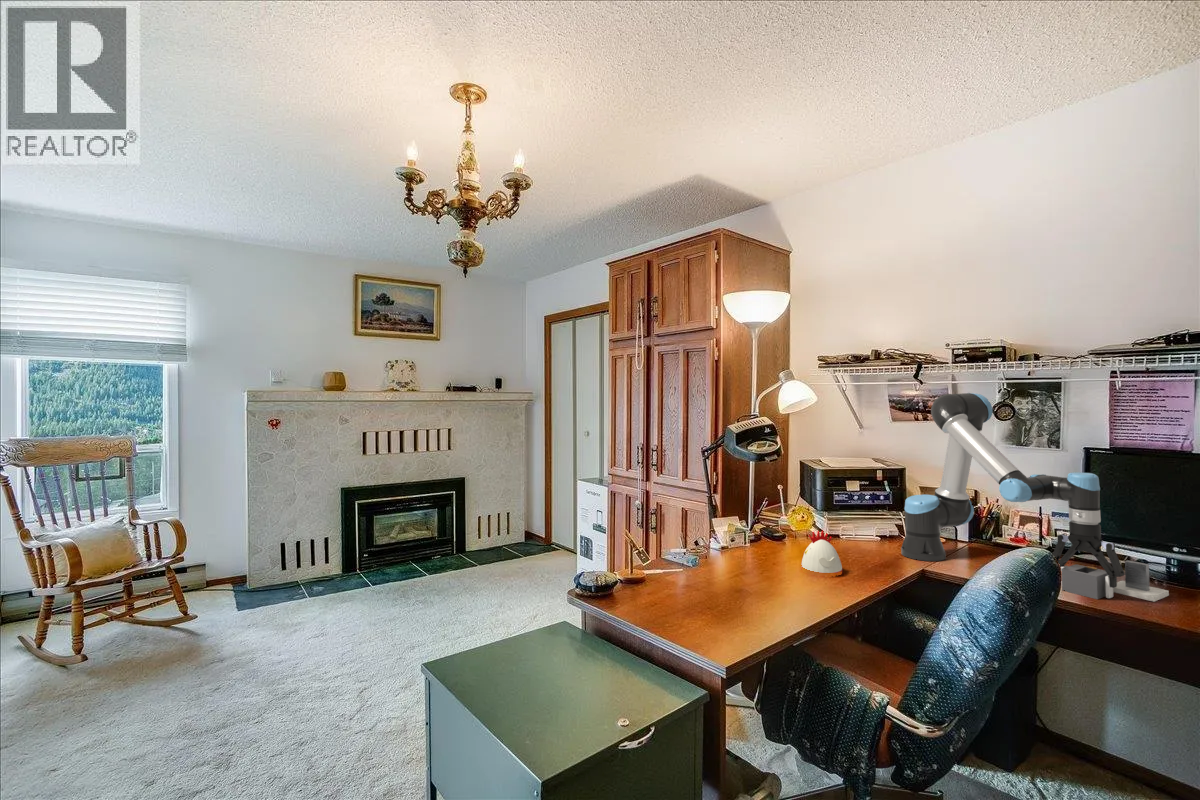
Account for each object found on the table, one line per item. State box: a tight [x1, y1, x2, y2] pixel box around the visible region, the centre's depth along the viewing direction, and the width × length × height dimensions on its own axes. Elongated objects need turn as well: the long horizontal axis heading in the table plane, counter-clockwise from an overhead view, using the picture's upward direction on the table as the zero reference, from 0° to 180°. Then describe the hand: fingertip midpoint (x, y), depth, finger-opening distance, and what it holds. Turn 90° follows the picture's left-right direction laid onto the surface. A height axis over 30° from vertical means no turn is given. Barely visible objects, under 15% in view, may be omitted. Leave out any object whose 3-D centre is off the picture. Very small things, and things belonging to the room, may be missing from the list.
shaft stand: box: [1113, 560, 1170, 603], centre depth 171 cm, size 11×10×10 cm
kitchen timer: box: [801, 530, 843, 573], centre depth 200 cm, size 14×14×15 cm
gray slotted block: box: [1061, 563, 1108, 600], centre depth 173 cm, size 9×9×7 cm
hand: (1086, 591), depth 173 cm, fingers open, 11 cm apart
